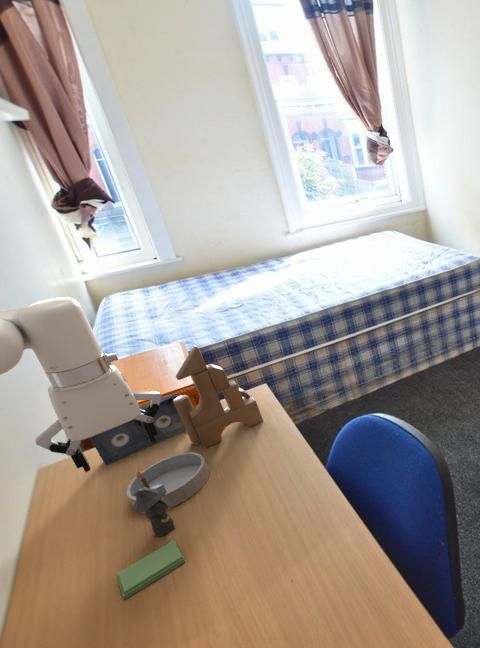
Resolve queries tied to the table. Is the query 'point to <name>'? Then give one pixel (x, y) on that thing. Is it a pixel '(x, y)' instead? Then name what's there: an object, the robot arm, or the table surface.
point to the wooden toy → (212, 401)
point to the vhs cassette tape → (138, 432)
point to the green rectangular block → (149, 569)
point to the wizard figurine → (153, 506)
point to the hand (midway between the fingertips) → (121, 453)
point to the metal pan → (174, 477)
